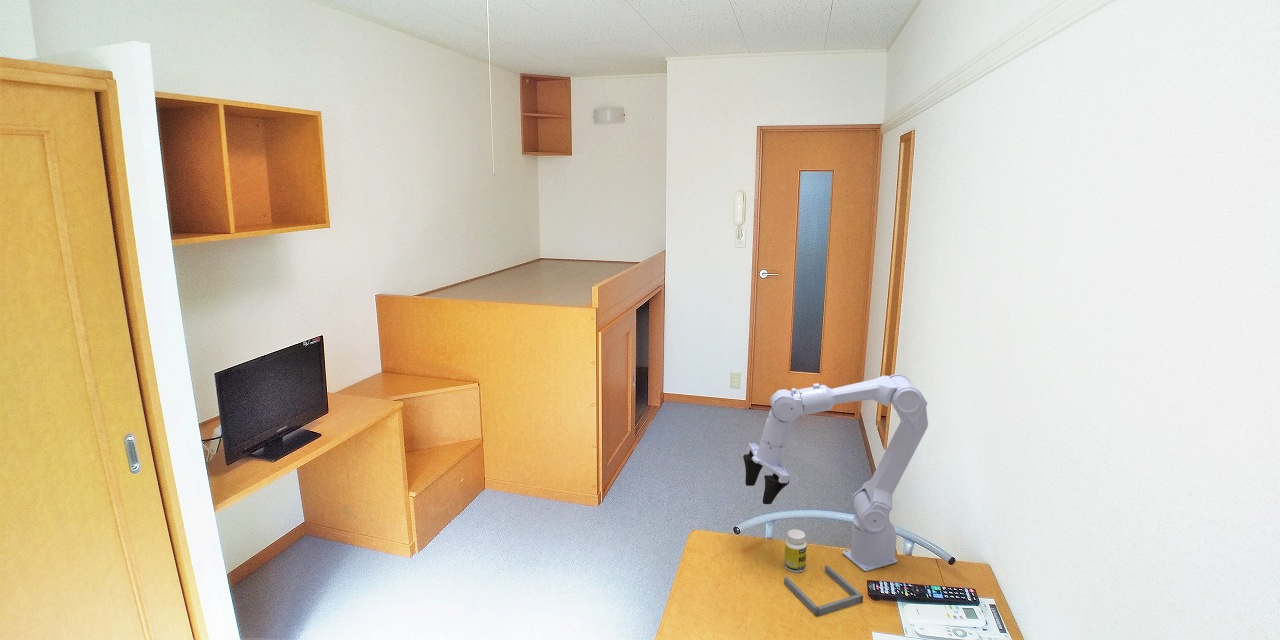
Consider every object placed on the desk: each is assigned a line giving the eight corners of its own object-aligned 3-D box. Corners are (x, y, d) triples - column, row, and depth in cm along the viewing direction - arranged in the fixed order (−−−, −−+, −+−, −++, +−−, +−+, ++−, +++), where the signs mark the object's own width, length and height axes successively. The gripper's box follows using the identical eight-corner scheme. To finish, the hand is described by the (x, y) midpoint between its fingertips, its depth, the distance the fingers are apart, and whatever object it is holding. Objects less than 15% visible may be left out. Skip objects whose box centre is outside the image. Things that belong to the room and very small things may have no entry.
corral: (827, 570, 143) (827, 565, 143) (862, 602, 132) (863, 595, 132) (783, 583, 139) (784, 577, 139) (816, 616, 128) (816, 610, 128)
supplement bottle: (800, 575, 142) (801, 542, 140) (780, 568, 144) (781, 535, 142) (809, 565, 145) (810, 532, 143) (789, 558, 148) (790, 525, 146)
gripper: (742, 426, 148) (728, 477, 151) (776, 457, 135) (760, 512, 139) (767, 427, 151) (752, 477, 154) (803, 457, 138) (786, 511, 142)
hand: (758, 494), depth 147 cm, fingers open, 7 cm apart
